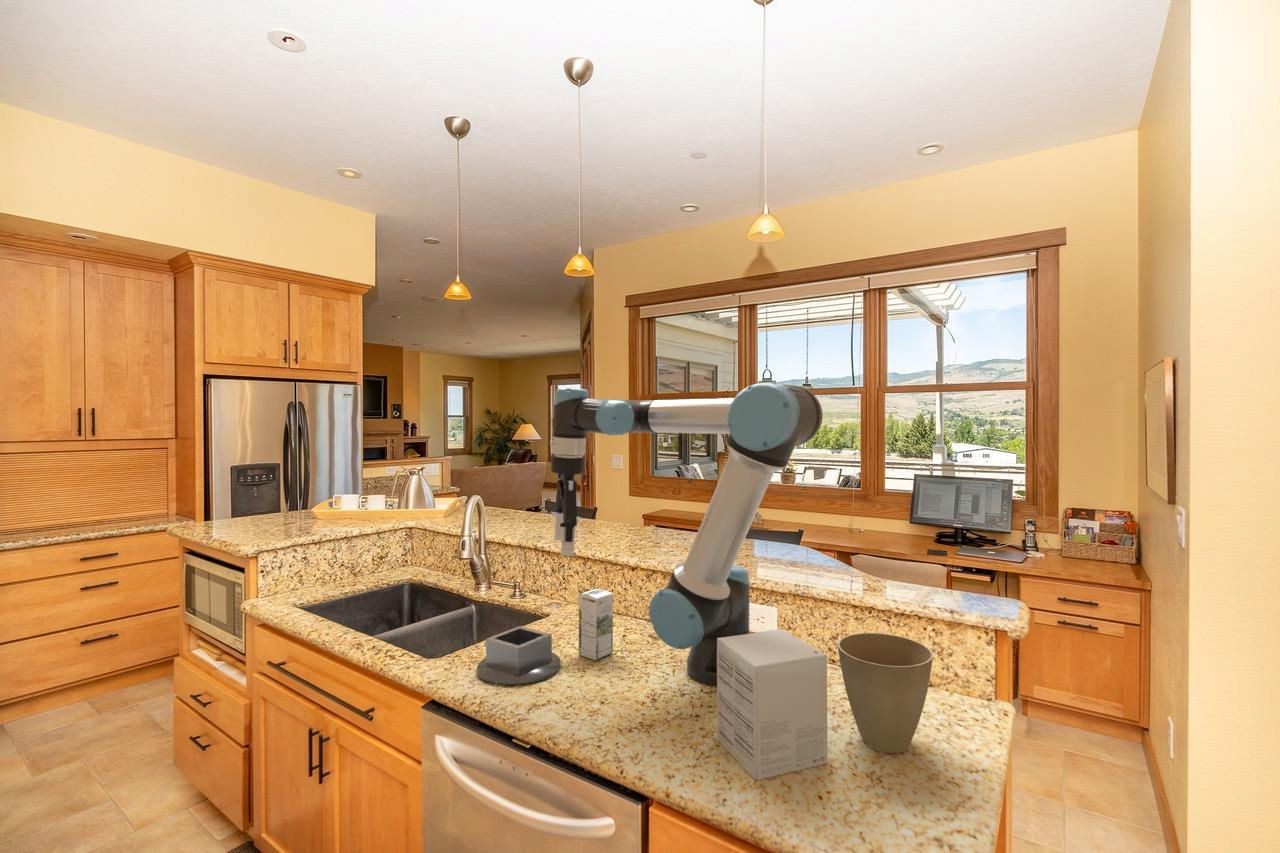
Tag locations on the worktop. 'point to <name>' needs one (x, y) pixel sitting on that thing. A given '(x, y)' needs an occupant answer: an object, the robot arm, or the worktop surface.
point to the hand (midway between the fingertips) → (563, 547)
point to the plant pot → (885, 686)
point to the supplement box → (772, 702)
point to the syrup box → (595, 624)
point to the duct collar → (518, 658)
